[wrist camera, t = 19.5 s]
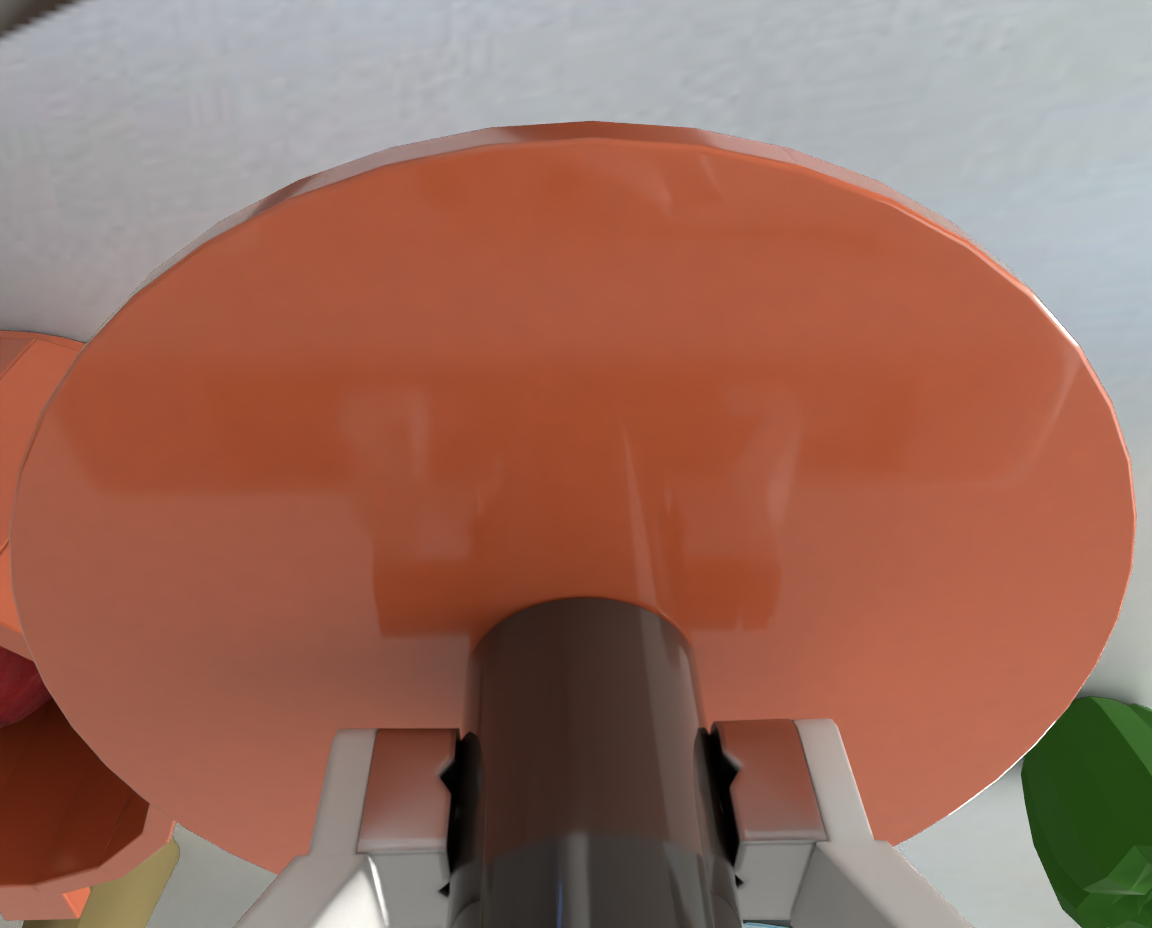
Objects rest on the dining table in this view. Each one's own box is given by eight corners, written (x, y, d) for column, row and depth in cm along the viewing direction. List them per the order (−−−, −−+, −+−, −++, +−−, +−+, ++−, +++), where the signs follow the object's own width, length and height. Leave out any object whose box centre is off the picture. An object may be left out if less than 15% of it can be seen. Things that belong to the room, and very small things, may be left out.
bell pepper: (1161, 767, 43) (1303, 990, 35) (986, 792, 44) (1085, 1016, 36) (1197, 653, 38) (1372, 883, 30) (998, 685, 39) (1117, 916, 31)
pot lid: (201, 874, 18) (84, 1255, 13) (-172, 98, 9) (-961, 453, 4) (934, 855, 18) (1067, 1213, 14) (1306, 102, 9) (2065, 423, 5)
